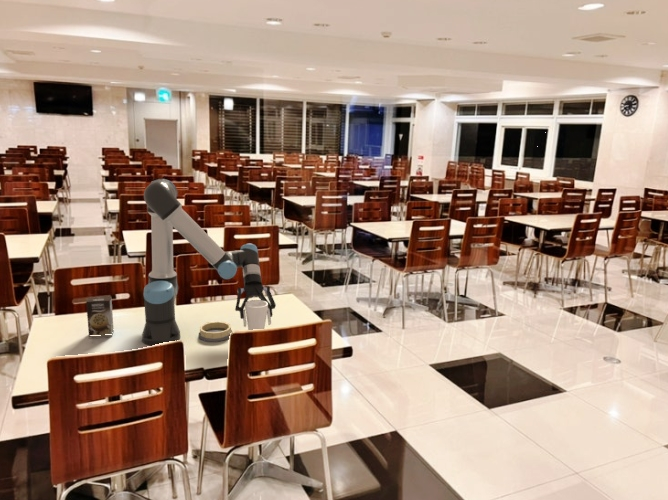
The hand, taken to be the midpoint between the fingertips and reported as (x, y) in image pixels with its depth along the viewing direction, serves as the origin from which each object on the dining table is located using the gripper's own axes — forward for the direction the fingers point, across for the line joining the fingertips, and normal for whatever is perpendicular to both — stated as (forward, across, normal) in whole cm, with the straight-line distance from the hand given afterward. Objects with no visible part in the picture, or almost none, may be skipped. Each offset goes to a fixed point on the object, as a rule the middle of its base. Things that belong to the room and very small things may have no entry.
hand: (257, 324), depth 214 cm
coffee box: (-10, +62, -23) cm, 67 cm away
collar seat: (-2, +16, -14) cm, 21 cm away
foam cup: (+1, 0, -6) cm, 6 cm away
